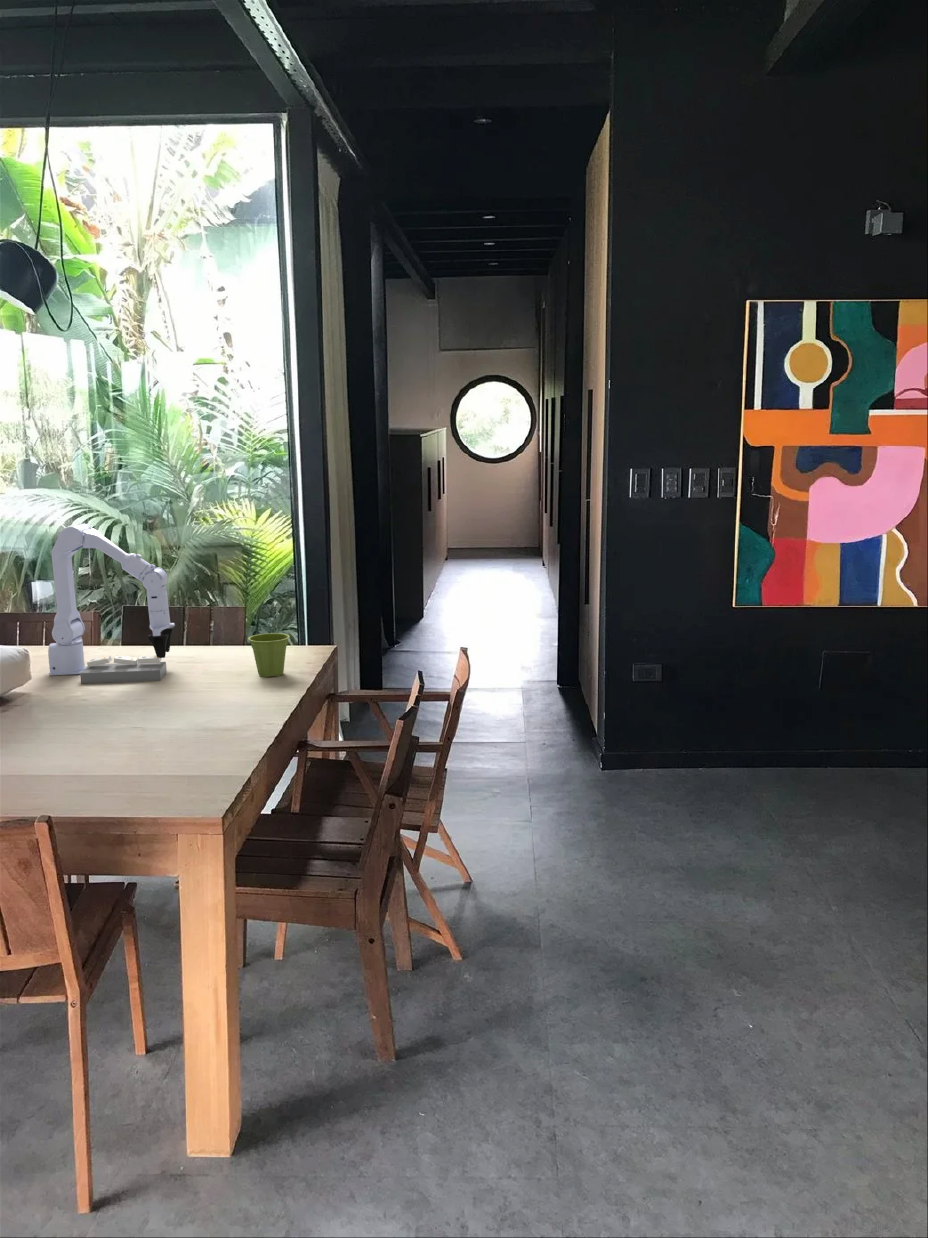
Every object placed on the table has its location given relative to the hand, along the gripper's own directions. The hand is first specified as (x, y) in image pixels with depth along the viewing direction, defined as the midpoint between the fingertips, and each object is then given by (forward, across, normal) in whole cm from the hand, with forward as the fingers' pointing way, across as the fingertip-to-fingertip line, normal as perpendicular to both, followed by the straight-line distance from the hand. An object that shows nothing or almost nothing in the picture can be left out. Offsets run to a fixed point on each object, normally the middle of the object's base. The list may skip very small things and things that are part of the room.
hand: (163, 654), depth 288 cm
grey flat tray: (+5, -5, +11) cm, 13 cm away
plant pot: (+6, -8, -31) cm, 33 cm away
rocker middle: (+2, -3, +10) cm, 11 cm away
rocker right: (+2, -3, +3) cm, 5 cm away
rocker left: (+1, -3, +17) cm, 18 cm away
